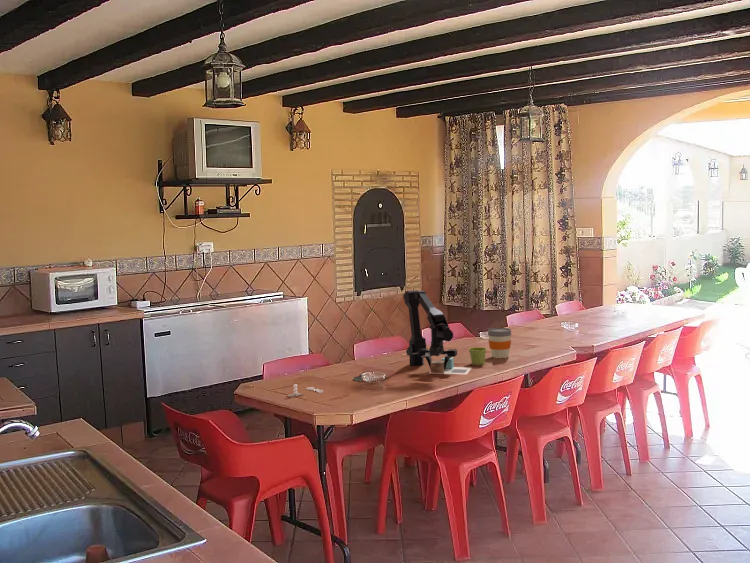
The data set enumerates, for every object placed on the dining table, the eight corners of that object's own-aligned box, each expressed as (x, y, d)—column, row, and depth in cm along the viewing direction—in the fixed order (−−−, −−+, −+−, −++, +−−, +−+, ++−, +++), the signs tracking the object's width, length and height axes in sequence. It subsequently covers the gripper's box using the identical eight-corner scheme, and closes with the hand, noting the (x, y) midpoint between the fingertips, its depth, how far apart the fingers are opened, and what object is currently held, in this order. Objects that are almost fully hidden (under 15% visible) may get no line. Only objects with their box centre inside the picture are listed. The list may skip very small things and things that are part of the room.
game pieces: (294, 400, 337) (293, 387, 337) (278, 395, 347) (277, 382, 347) (372, 382, 366) (372, 370, 366) (355, 378, 376) (355, 366, 376)
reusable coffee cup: (496, 360, 405) (495, 332, 403) (484, 356, 416) (483, 329, 415) (516, 357, 409) (515, 330, 408) (503, 354, 421) (503, 327, 419)
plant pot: (477, 368, 387) (477, 351, 386) (465, 365, 394) (464, 348, 394) (491, 365, 392) (490, 348, 391) (478, 362, 400) (477, 346, 399)
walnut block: (430, 372, 375) (430, 362, 375) (433, 370, 381) (433, 360, 380) (442, 373, 373) (442, 363, 373) (445, 370, 379) (445, 360, 379)
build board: (428, 375, 375) (428, 373, 375) (435, 368, 390) (435, 366, 390) (466, 376, 369) (466, 374, 369) (472, 369, 384) (472, 367, 384)
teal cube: (442, 368, 383) (441, 359, 383) (444, 366, 388) (443, 357, 387) (451, 369, 382) (451, 359, 381) (453, 367, 386) (453, 357, 386)
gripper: (414, 341, 371) (415, 372, 372) (452, 341, 365) (453, 373, 367) (420, 337, 381) (421, 367, 383) (457, 337, 376) (457, 368, 377)
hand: (438, 369), depth 377 cm, fingers open, 7 cm apart
